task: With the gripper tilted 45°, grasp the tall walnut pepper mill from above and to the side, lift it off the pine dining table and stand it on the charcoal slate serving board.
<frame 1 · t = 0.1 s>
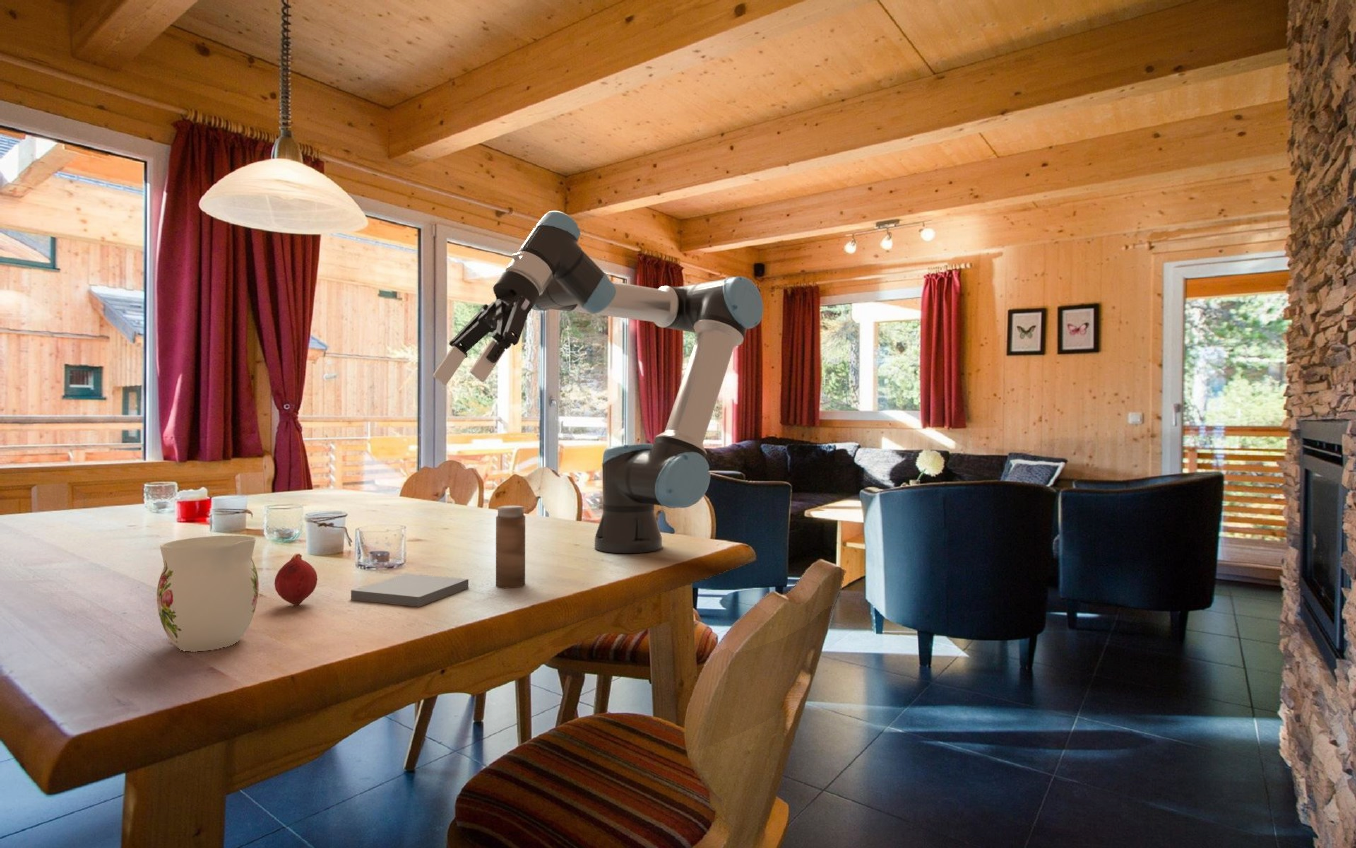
hand: (457, 378, 120), 36 cm above the table, tool tilted 35°, fingers open, 13 cm apart
pepper mill: (510, 584, 127), on the table
slate board: (411, 593, 120), on the table
onion: (296, 606, 112), on the table
pitcher: (207, 643, 94), on the table
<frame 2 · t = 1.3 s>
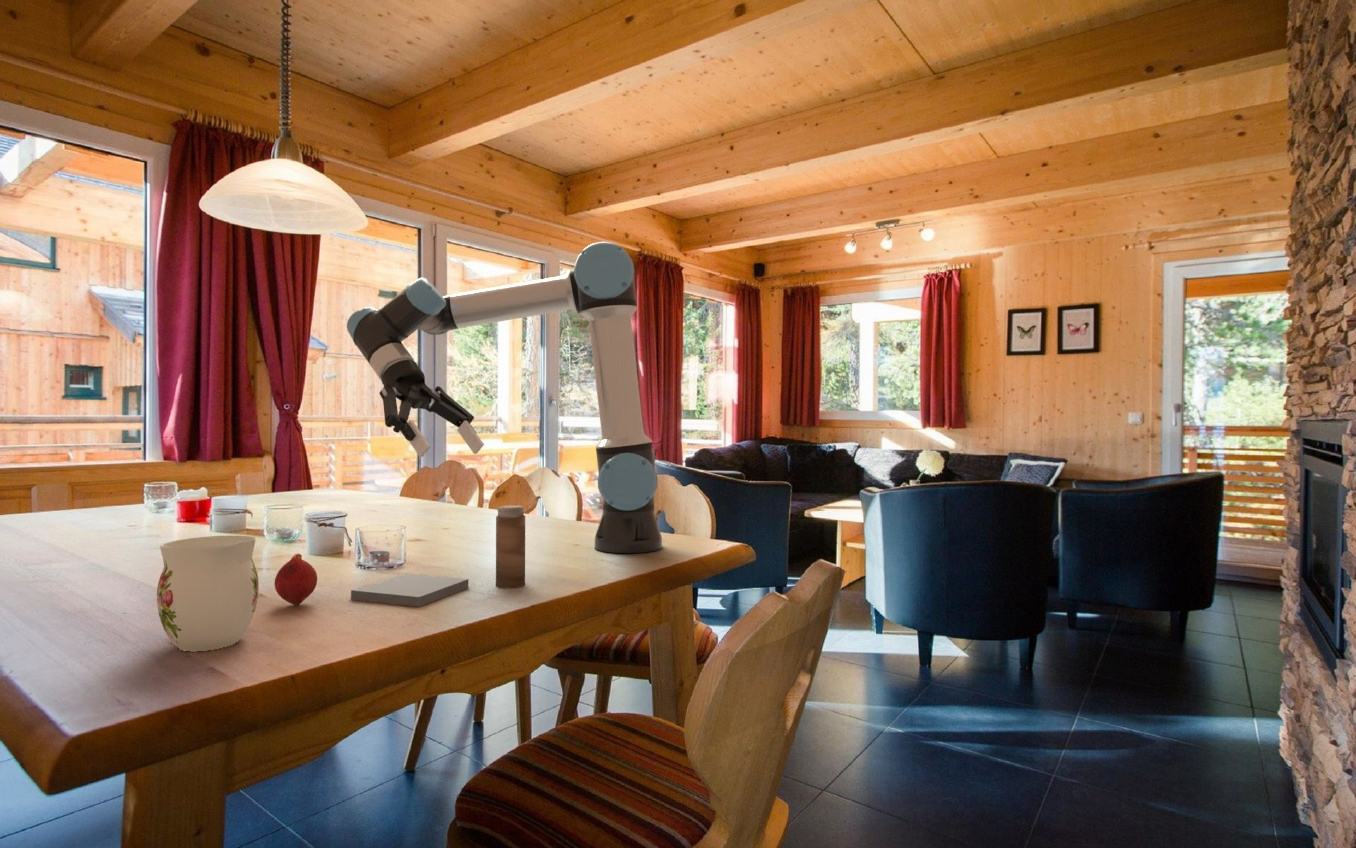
hand: (453, 450, 136), 23 cm above the table, tool tilted 45°, fingers open, 13 cm apart
nothing on the table moved.
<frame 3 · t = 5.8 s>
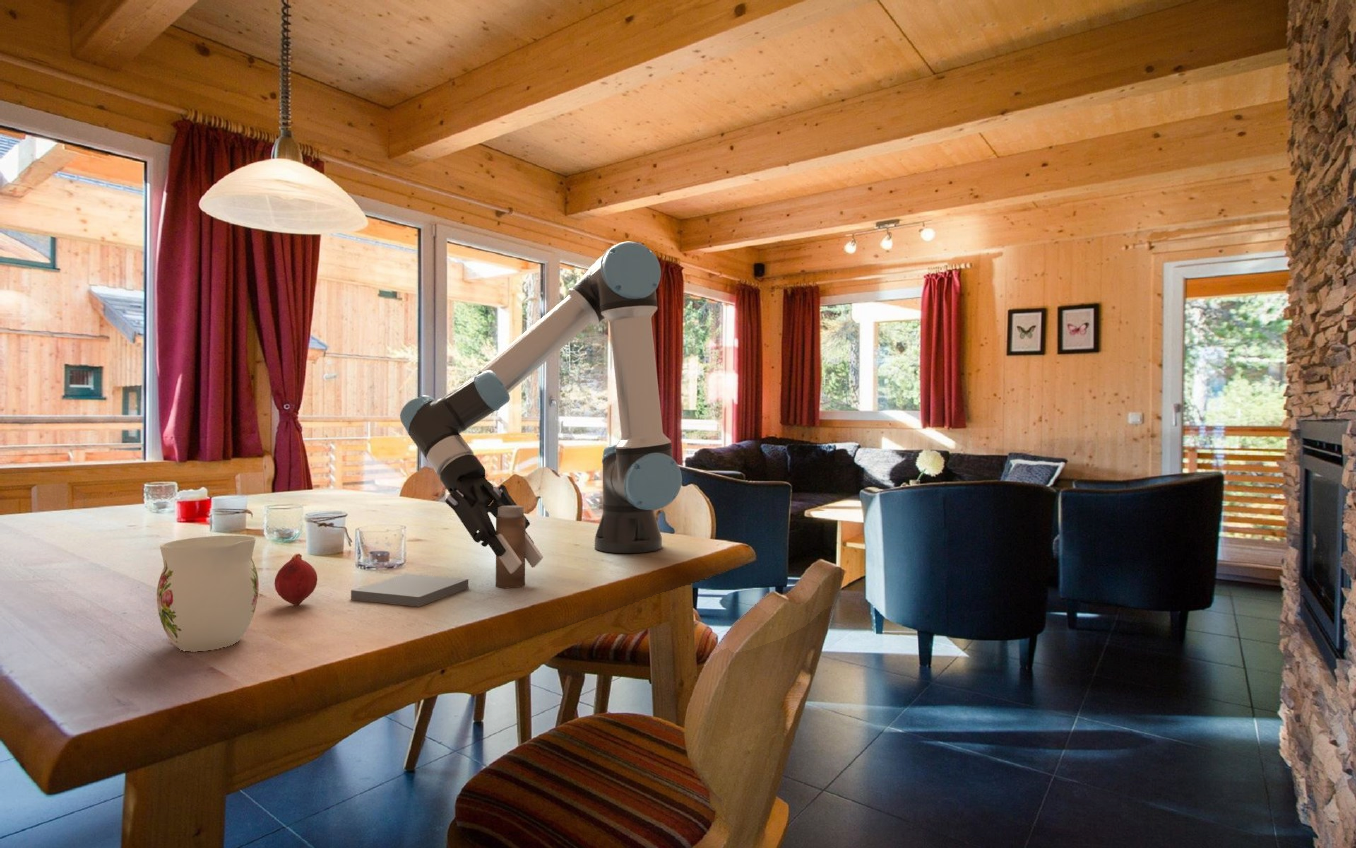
hand: (527, 565, 125), 4 cm above the table, tool tilted 45°, fingers closed on pepper mill, 5 cm apart
pepper mill: (510, 584, 127), on the table, touching gripper
everything else where it was.
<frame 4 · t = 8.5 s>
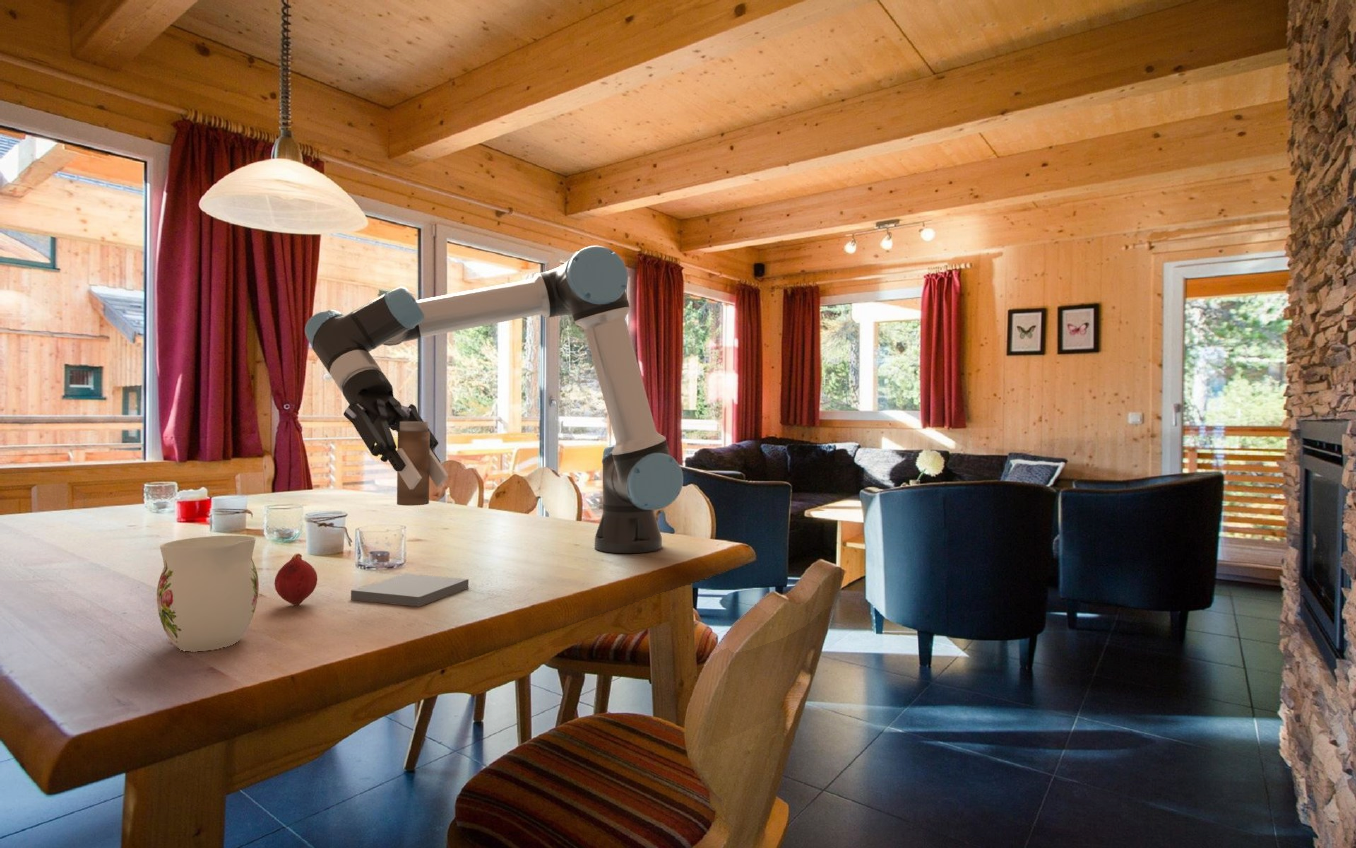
hand: (429, 482, 118), 19 cm above the table, tool tilted 45°, fingers closed on pepper mill, 5 cm apart
pepper mill: (413, 503, 120), point 15 cm above the table, touching gripper
everything else where it was.
when the fingers open (7 cm above the table, at t = 11.4 s): pepper mill drops 1 cm, resting on slate board.
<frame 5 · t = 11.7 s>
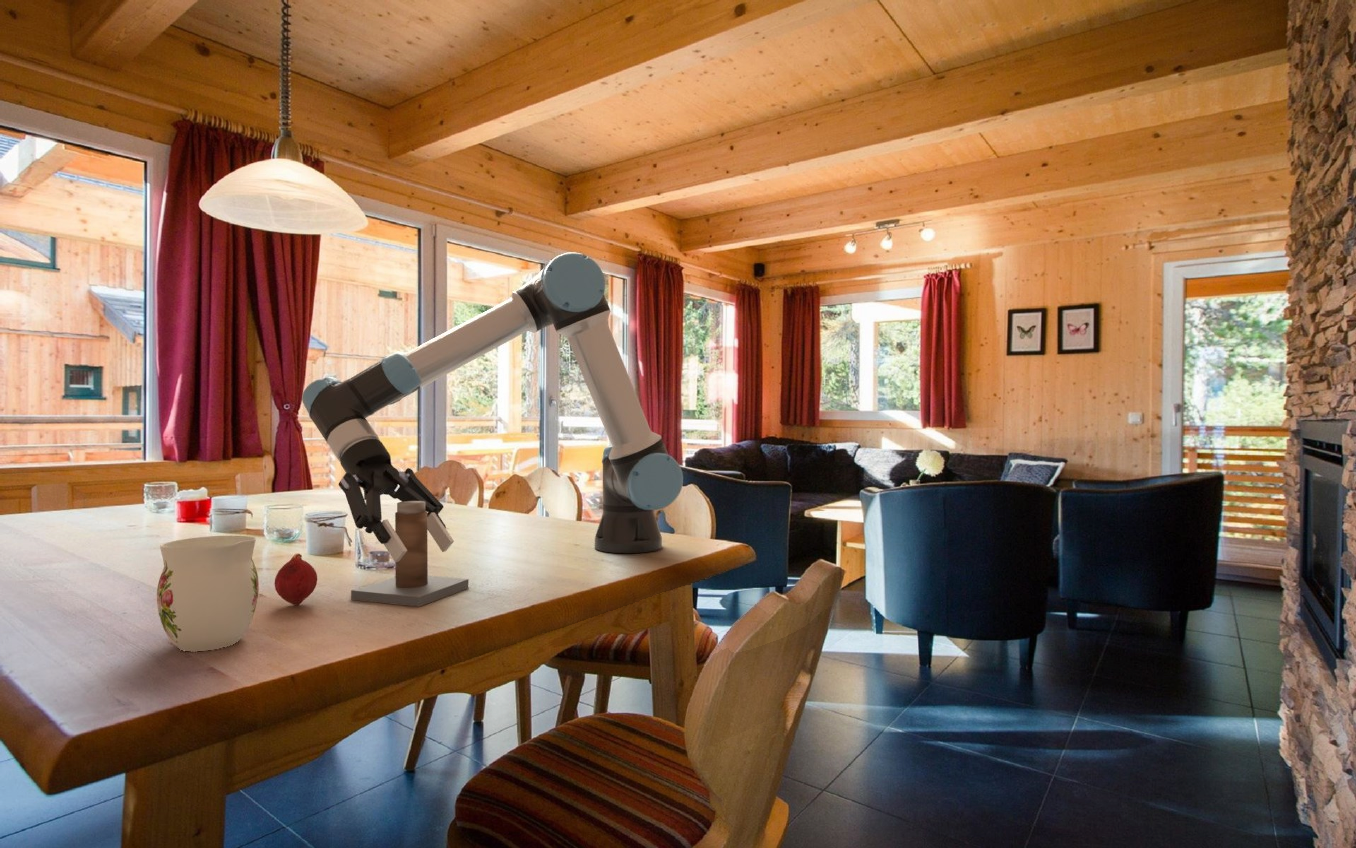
hand: (425, 551, 118), 7 cm above the table, tool tilted 45°, fingers open, 9 cm apart
pepper mill: (411, 584, 120), point 2 cm above the table, touching slate board
everything else where it was.
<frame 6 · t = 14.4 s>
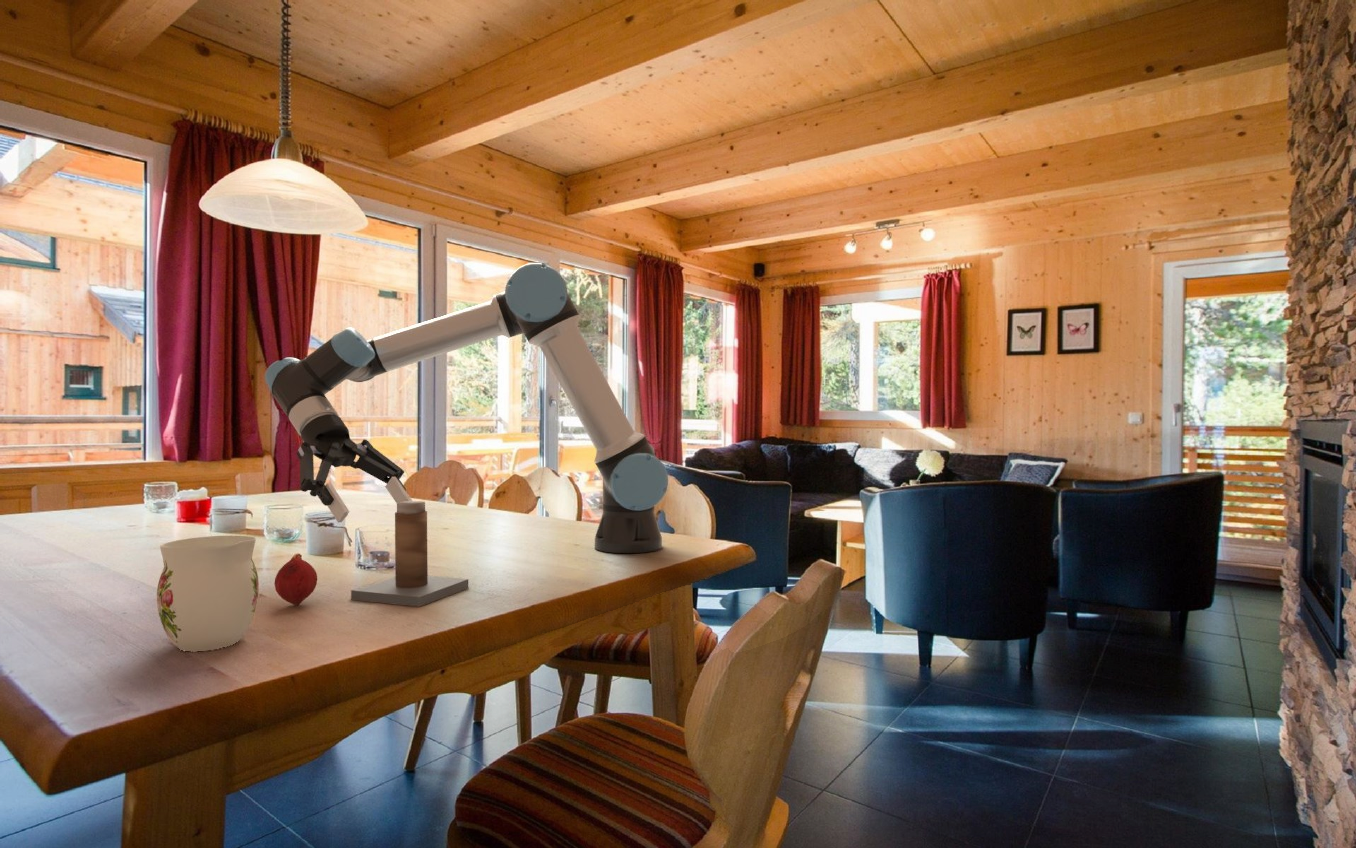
hand: (377, 512, 127), 12 cm above the table, tool tilted 45°, fingers open, 13 cm apart
nothing on the table moved.
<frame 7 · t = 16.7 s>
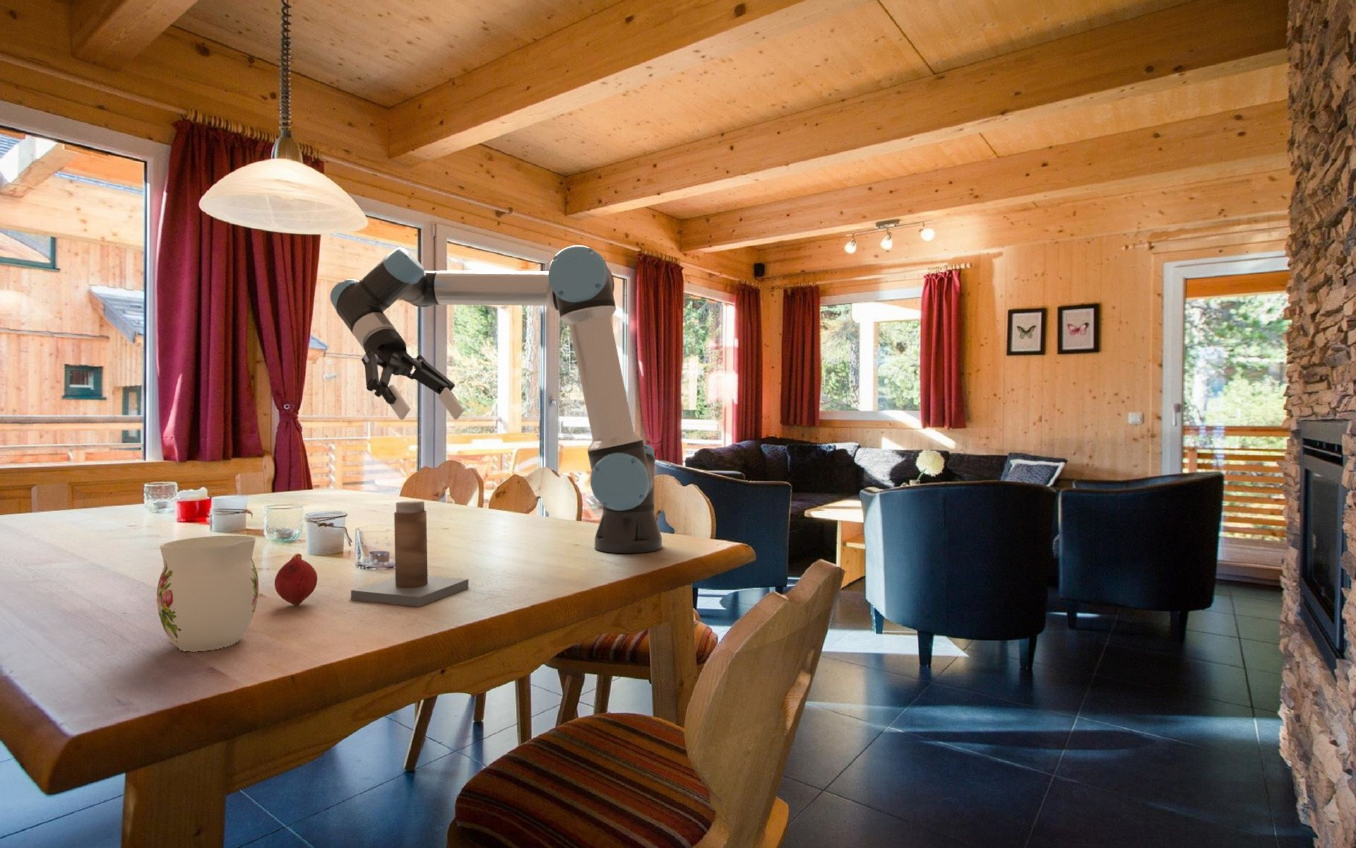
hand: (433, 414, 140), 30 cm above the table, tool tilted 45°, fingers open, 13 cm apart
nothing on the table moved.
at the end: pepper mill inside the target area on the slate board (0.0 cm from its centre), point 1.5 cm above the slate board's base; pepper mill tilted 1°; the gripper is holding nothing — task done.
